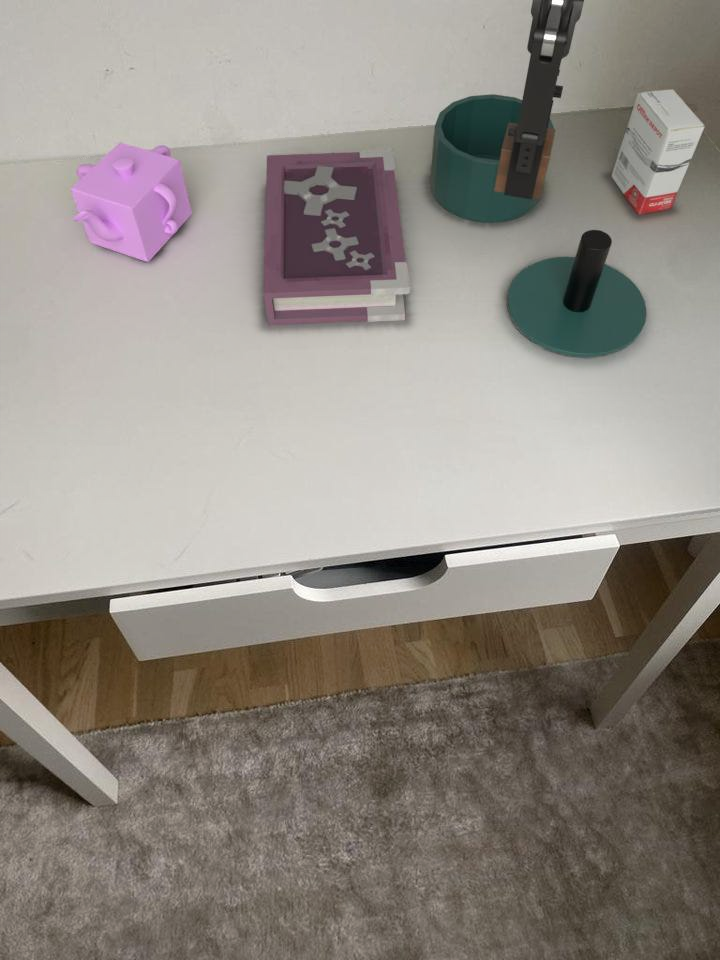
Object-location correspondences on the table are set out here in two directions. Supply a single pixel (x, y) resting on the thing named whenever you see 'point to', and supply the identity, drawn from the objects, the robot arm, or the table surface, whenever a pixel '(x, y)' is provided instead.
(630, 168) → the ink box
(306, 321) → the book
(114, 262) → the table surface
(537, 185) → the block
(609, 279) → the lid
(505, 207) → the tin
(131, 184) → the teapot
